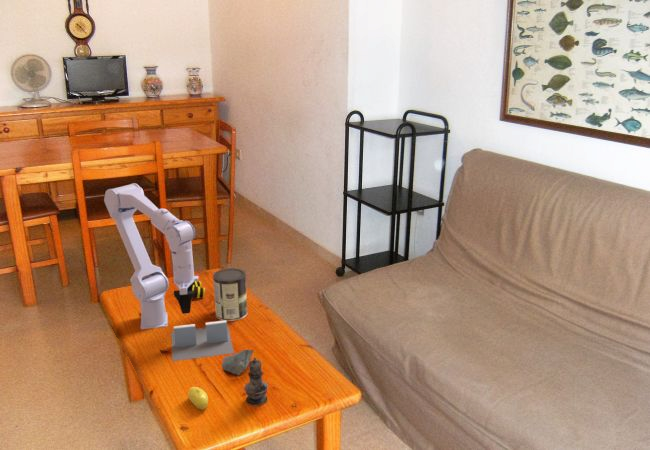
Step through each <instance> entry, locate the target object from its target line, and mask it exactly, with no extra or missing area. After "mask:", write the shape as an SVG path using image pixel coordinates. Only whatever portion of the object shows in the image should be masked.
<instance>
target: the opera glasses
mask: <svg viewBox="0 0 650 450" xmlns="http://www.w3.org/2000/svg"><path fill="white" fill-rule="evenodd" d="M193 290H194V295H193V297H192V300H193V299H199V298H202V299H204V298H205V295H206V294H205V293H206V288H205V287H202V282H201V281H200V280H198V281H195V282H194V284H193V288H192V291H193Z"/></svg>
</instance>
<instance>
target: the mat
mask: <svg viewBox="0 0 650 450" xmlns="http://www.w3.org/2000/svg"><path fill="white" fill-rule="evenodd" d="M195 330H196V343H197V345H193V346H185V347H177V348H175V337H174V331H171V332H170V334H171V337H170V338H171V359H172V362H178V361H185V360H192V359H198V358H199V359H200V358H207V357H214V356H222V355H229V354H230V355H231V354H235V351H234V347H233V342H232V339H231V338H232V337H231V334H230V329H229V325H228V324H227V335H228V341H224V342H216V343H209V344H207V338H206V327H201V328H195Z"/></svg>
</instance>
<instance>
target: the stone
mask: <svg viewBox="0 0 650 450" xmlns="http://www.w3.org/2000/svg"><path fill="white" fill-rule="evenodd" d="M253 353H254V349H242V350H241V351H239V352H237V353H232V355H231V354H230V355H228V356H225V357H223V359H222V362H221V368H222V370H224V371H225V372H229V373H231V374H233V375H236V376H237V377H239V376H240V375H241V373H243V372H245V371H246V369H247V368H248V366H249V363H250V362H251V358H252V356H253Z"/></svg>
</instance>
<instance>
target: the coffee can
mask: <svg viewBox="0 0 650 450" xmlns="http://www.w3.org/2000/svg"><path fill="white" fill-rule="evenodd" d="M246 276H247V274H246V271H245V270H242V269H241V268H234V267H233V268H223V269H220V270H217V271H214V273H213V274H212V279H213V290H214V291H213V293H214V305H215V308H214V309H215V317H216V318H217V319H219V321H224V320H226V321H227V322H233V321H239V320H242V319H243V318H245V317H247V315H248V301H247V298H248V297H247V283H246V282H247V281H246V280H247V279H246Z"/></svg>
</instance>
